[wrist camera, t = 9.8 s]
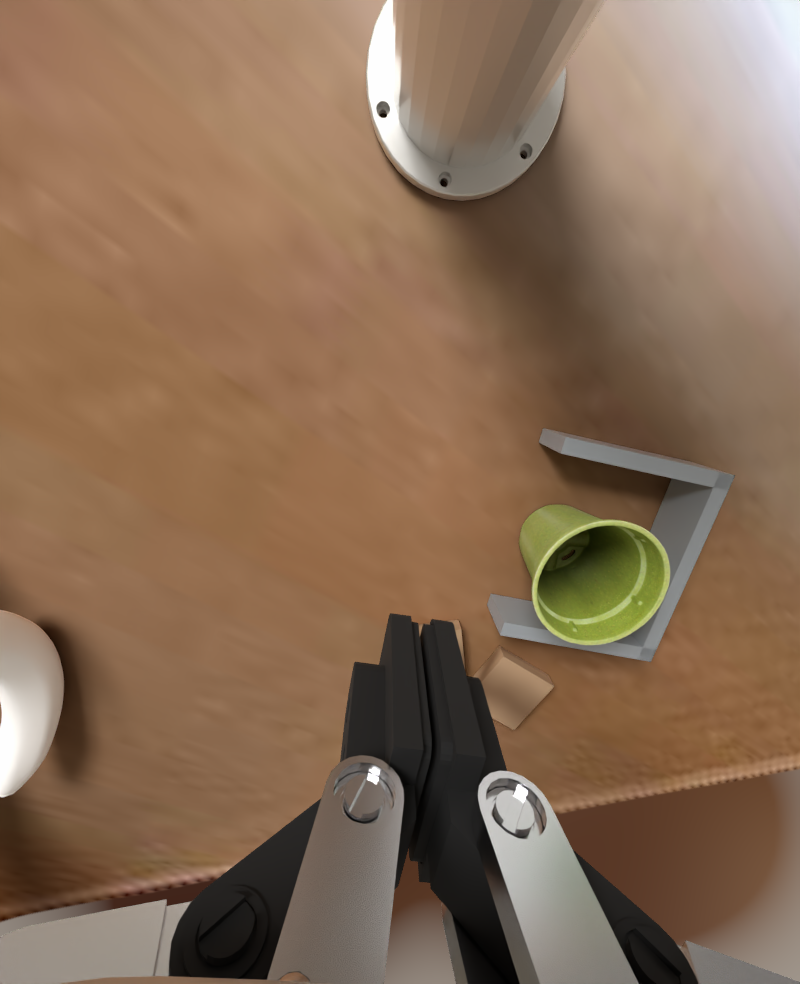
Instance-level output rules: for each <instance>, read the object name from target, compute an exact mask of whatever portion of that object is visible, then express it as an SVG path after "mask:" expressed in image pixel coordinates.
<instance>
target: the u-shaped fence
mask: <svg viewBox="0 0 800 984" xmlns="http://www.w3.org/2000/svg"><path fill="white" fill-rule="evenodd" d="M539 443H541V444H543V445H545V446H547V447H549V448H551V449H553V450H555V451H557V452H559V453H561V454H565V455H570V456H574V457H579V458H583V459H588V460H592V461H597V462H601V463H605V464H610V465H614V466H619V467H623V468H628V469H632V470H637V471H641V472H646V473H650V474H655V475H659V476H664V477H668V478H672V479H671V481H670V484H669V486H668V489H667V491H666V493H665V496H664V498H663V501H662V503H661V506H660V508H659V511H658V513H657V515H656V518H655V520H654V523H653V525H652V528H651V530H650V533H652V534H653V535H654V536H655V537H656V538H657V539H658V540H659V542H660V543H661V544H662V546H663V547H664V549H665V551H666V553H667V556H668V559H669V565H670V581H669V586H668V589H667V592H666V595H665V597H664V599H663V601H662V603H661V605H660V607H659V608H658V609H657V611H656V612H655V614H654V615H653V616H652V617H651V618H650V619H649V620H648V621H647V622H646V623H645V624H644V625H643V626H641V627H640V628H639V629H637V630H636V631H634V632H633V633H631V634H630V635H628V636H626V637H624V638H622V639H619V640H616V641H614V642H610V643H606V644H601V645H580V644H575V643H570V642H567V641H565V640H563V639H561V638H559V637H557V636H556V635H554V634H553V633H551V632H550V631H549V630H548V629H547V628H546V627H545V626H544V625H543V624H542V622H541V621H540V619H539V618H538V616H537V614H536V611H535V609H534V606H533V601H528V600H522V599H517V598H512V597H506V596H501V595H495V594H491V595H490V598H489V601H488V604H487V606H488V608H489V611H490V613H491V615H492V618H493V620H494V622H495V625H496V627H497V629H498V631H499V634H500V635H502V636H507V637H513V638H519V639H524V640H530V641H536V642H541V643H547V644H553V645H558V646H564V647H570V648H575V649H581V650H587V651H592V652H598V653H604V654H609V655H615V656H621V657H626V658H632V659H638V660H643V661H649V662H651V660H652V658H653V656H654V654H655V651H656V649H657V647H658V645H659V643H660V640H661V638H662V636H663V634H664V632H665V629H666V627H667V625H668V623H669V620H670V618H671V616H672V614H673V612H674V609H675V607H676V605H677V603H678V601H679V598H680V596H681V594H682V592H683V590H684V587H685V585H686V583H687V581H688V579H689V576H690V574H691V572H692V570H693V567H694V565H695V563H696V561H697V559H698V556H699V554H700V552H701V550H702V548H703V545H704V543H705V541H706V539H707V537H708V534H709V532H710V530H711V528H712V525H713V523H714V521H715V519H716V517H717V514H718V512H719V510H720V508H721V506H722V503H723V501H724V499H725V497H726V495H727V492H728V490H729V488H730V486H731V483H732V481H733V479H734V477H735V475H732V474H729V473H726V472H723V471H720V470H716V469H713V468H710V467H707V466H704V465H701V464H697V463H694V462H690V461H686V460H682V459H677V458H673V457H668V456H664V455H660V454H655V453H651V452H646V451H642V450H638V449H633V448H629V447H624V446H620V445H616V444H611V443H607V442H603V441H598V440H594V439H589V438H585V437H581V436H576V435H572V434H567V433H563V432H559V431H554V430H550V429H545V428H543V430H542V433H541V437H540V440H539Z"/></svg>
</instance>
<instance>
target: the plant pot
mask: <svg viewBox="0 0 800 984" xmlns="http://www.w3.org/2000/svg"><path fill="white" fill-rule="evenodd" d="M519 547H520V551H521V553H522V556H523V558H524V561H525V563H526V566H527V568H528V571H529V573H530V576H531V578H532V601H533V606H534V609H535V611H536V614H537V616H538V618H539V619H540V621H541V622H542V624H543V625H544V626H545V627H546V628H547V629H548V630H549V631H550V632H551V633H553V634H554V635H556V636H557V637H559V638H561V639H563V640H565V641H567V642H570V643H575V644H580V645H601V644H606V643H610V642H614V641H616V640H619V639H622V638H624V637H626V636H628V635H630V634H631V633H633V632H634V631H636V630H637V629H639V628H640V627H641V626H643V625H644V624H645V623H646V622H647V621H648V620H649V619H650V618H651V617H652V616H653V615H654V614H655V612H656V611H657V609H658V608H659V607H660V605H661V603H662V601H663V599H664V597H665V595H666V592H667V589H668V586H669V581H670V565H669V559H668V556H667V553H666V551H665V549H664V547H663V546H662V544H661V543H660V542H659V540H658V539H657V538H656V537H655V536H654V535H653V534H652V533H650V532H649V531H647V530H646V529H644V528H642V527H640V526H638V525H636V524H633V523H630V522H627V521H622V520H602V519H600V518H597V517H595V516H592V515H590V514H588V513H585V512H583V511H581V510H578V509H576V508H574V507H571V506H568V505H547V506H544V507H542V508H540V509H538V510H536V511H535V512H533V513H532V514H531V515H530V516H529V517H528V518H527V519H526V521H525V522H524V524H523V526H522V528H521V533H520V538H519ZM572 550H575V553H574V554H573V555H572V556H571V557H570V558H568V559H566V560H562V558H563V557H564V556H566V555H567V554H569V553H570V552H571V551H572Z"/></svg>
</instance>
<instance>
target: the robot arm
mask: <svg viewBox="0 0 800 984" xmlns="http://www.w3.org/2000/svg"><path fill="white" fill-rule="evenodd" d="M605 1H606V0H386V2H385V3H384V5H383V7H382V9H381V11H380V14H379V16H378V18H377V21H376V23H375V25H374V28H373V32H372V36H371V40H370V44H369V48H368V55H367V67H366V88H367V99H368V106H369V112H370V118H371V121H372V124H373V127H374V130H375V133H376V136H377V139H378V141H379V142H380V144H381V146H382V148H383V150H384V152H385V154H386V156H387V157H388V159H389V160H390V161H391V163H392V164H393V165H394V167H395V168H396V169H397V170H398V172H399V173H401V174H402V175H403V176H404V177H405V178H406V179H407V180H408V181H409V182H410V183H412V184H413V185H415V186H416V187H418V188H420V189H421V190H423V191H425V192H426V193H428V194H431V195H434V196H437V197H440V198H443V199H449V200H459V201H465V200H473V199H480V198H483V197H486V196H489V195H492V194H495V193H497V192H499V191H500V190H502V189H504V188H506V187H507V186H509V185H511V184H512V183H513V182H514V181H516V180H517V179H518V178H519V177H520V176H521V175H522V174H523V173H525V172H526V171H527V170H528V168H529V167H530V166H531V165H532V163H533V162H534V161H535V160H536V158H537V157H538V156H539V154H540V153H541V151H542V149H543V148H544V146H545V145H546V143H547V142H548V140H549V138H550V136H551V134H552V131H553V129H554V127H555V125H556V123H557V120H558V117H559V113H560V109H561V106H562V102H563V98H564V90H565V81H566V64H567V63H568V61H569V60H570V58H571V56H572V55H573V53H574V51H575V50H576V48H577V46H578V45H579V43H580V42H581V40H582V38H583V37H584V35H585V33H586V32H587V30H588V28H589V27H590V25H591V24H592V22H593V20H594V19H595V17H596V15H597V14H598V12H599V11H600V9H601V7H602V6H603V4H604V2H605ZM382 113H384V114H386V116H387V117H386V118H381V117H380V114H382ZM520 154H524V155H525V159H523V158H521V156H520ZM441 181H445V182H446V183H447V186H446V187H443V186H441V185H440V182H441ZM408 848H409V857H410V860H411V861H417V862H418V869H419V882H428V883H430V885H431V889H432V891H433V892H434V893H435V894H436V895H437V896H438V898H439V899H440V900H441V901H442V907H441V908H442V919H443V925H444V930H445V934H446V939H447V944H448V948H449V953H450V958H451V963H452V967H453V971H454V976H455V981H456V984H800V982H798V981H795V980H793V979H790V978H787V977H784V976H782V975H779V974H776V973H773V972H771V971H768V970H765V969H763V968H759V967H757V966H754V965H752V964H749V963H746V962H743V961H741V960H738V959H735V958H732V957H730V956H727V955H724V954H721V953H719V952H716V951H713V950H710V949H707V948H705V947H702V946H699V945H697V944H694V943H691V942H688V941H685V942H684V944H683V945H682V946H679V945H677V944H676V943H675V942H674V940H673V939H672V938H671V937H670V936H669V935H668V934H667V933H666V932H665V931H664V930H663V929H662V928H661V927H660V926H659V925H658V924H657V923H656V922H654V921H653V920H652V919H651V918H650V917H649V916H648V915H646V914H645V913H644V912H643V911H642V910H641V909H640V908H639V907H637V906H636V905H635V904H634V903H633V902H632V901H631V900H629V899H628V898H627V897H626V896H625V895H624V894H622V893H621V892H620V891H619V890H618V889H617V888H616V887H615V886H613V885H612V884H611V883H610V882H609V881H608V880H606V879H605V878H604V877H603V876H602V875H601V874H600V873H599V872H598V871H596V870H595V869H594V868H593V867H592V866H591V865H590V864H588V863H587V862H586V861H585V860H584V859H583V858H582V857H580V856H579V855H578V854H577V853H576V852H575V851H574V850H572V848H571V846H570V844H569V842H568V840H567V838H566V836H565V834H564V832H563V830H562V828H561V826H560V824H559V822H558V819H557V817H556V815H555V813H554V811H553V809H552V807H551V805H550V804H549V802H548V801H547V799H546V797H545V796H544V794H543V793H542V792H541V791H540V790H539V789H538V788H537V787H536V786H535V785H534V784H533V783H532V782H530V781H529V780H527V779H526V778H524V777H523V776H520V775H518V774H515V773H513V772H508V771H507V769H506V766H505V762H504V759H503V755H502V752H501V748H500V745H499V741H498V738H497V734H496V731H495V727H494V724H493V720H492V717H491V713H490V710H489V706H488V703H487V699H486V696H485V692H484V689H483V685H482V683H481V680H480V679H479V678H476V677H468V676H466V672H465V668H464V664H463V660H462V656H461V652H460V648H459V644H458V640H457V636H456V631H455V627H454V624H453V622H448V621H441V620H434V619H432V620H431V622H430V625H429V624H423V626H422V630H421V634H419V625H418V623H415V622H412V621H411V616H406V615H399V614H391V613H390V615H389V619H388V624H387V629H386V634H385V638H384V643H383V648H382V653H381V658H380V663H379V665H375V664H368V663H360V662H355V663H354V667H353V672H352V677H351V683H350V689H349V695H348V701H347V708H346V715H345V724H344V733H343V742H342V751H341V760H340V763H339V764H338V765H337V766H336V767H335V768H334V769H333V770H332V771H331V773H330V775H329V777H328V779H327V781H326V785H325V788H324V791H323V795H322V798H321V799H320V800H318V801H317V802H316V803H315V804H313V805H312V806H311V807H309V808H308V809H307V810H306V811H304V812H303V813H302V814H300V815H299V816H298V817H297V818H295V819H294V820H293V821H291V822H290V823H289V824H288V825H286V826H285V827H284V828H282V829H281V830H280V831H279V832H277V833H276V834H275V835H273V836H272V837H271V838H270V839H268V840H267V841H266V842H264V843H263V844H262V845H261V846H259V847H258V848H257V849H255V850H254V851H253V852H252V853H250V854H249V855H248V856H246V857H245V858H244V859H243V860H241V861H240V862H239V863H237V864H236V865H235V866H234V867H232V868H231V869H230V870H228V871H227V872H226V873H225V874H223V875H222V876H221V877H219V878H218V879H217V880H216V881H214V882H213V883H212V884H210V885H209V886H208V887H207V888H205V889H204V890H203V891H202V892H201V893H200V894H199V895H198V896H197V897H196V898H195V899H194V900H193V901H192V902H187V903H182V904H176V905H172V906H167V904H166V903H167V900H161V901H156V902H151V903H145V904H140V905H134V906H129V907H124V908H119V909H114V910H108V911H103V912H98V913H93V914H87V915H83V916H78V917H72V918H66V919H61V920H56V921H51V922H45V923H41V924H35V925H30V926H26V927H24V928H20V929H18V930H15V931H12V932H9V933H7V934H5V935H3V936H2V937H0V984H384V977H385V968H386V958H387V950H388V941H389V932H390V923H391V914H392V905H393V896H394V890H395V889H396V888H397V886H398V884H399V880H400V877H401V873H402V870H403V866H404V863H405V859H406V855H407V852H408Z"/></svg>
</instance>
